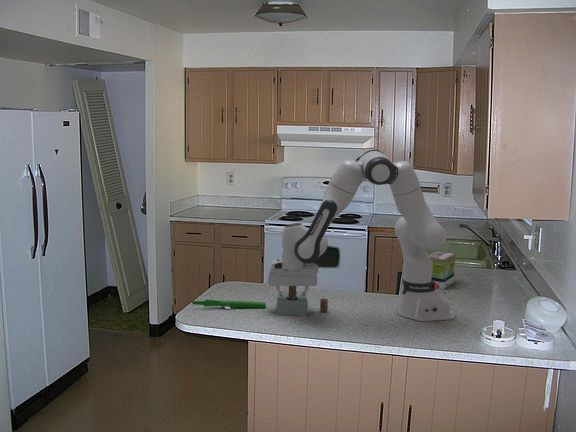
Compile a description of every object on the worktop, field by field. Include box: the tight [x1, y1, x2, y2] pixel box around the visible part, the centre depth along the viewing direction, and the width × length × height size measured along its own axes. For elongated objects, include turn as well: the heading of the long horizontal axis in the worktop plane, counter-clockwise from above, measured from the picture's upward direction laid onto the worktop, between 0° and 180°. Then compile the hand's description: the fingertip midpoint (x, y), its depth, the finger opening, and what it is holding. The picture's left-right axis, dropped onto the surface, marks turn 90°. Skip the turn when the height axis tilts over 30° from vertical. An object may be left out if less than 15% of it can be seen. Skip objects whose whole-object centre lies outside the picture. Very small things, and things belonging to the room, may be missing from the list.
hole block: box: [276, 293, 309, 316], centre depth 247 cm, size 12×12×5 cm
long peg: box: [289, 286, 296, 300], centre depth 247 cm, size 3×3×11 cm
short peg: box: [319, 297, 329, 313], centre depth 247 cm, size 3×3×5 cm
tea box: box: [428, 250, 456, 290], centre depth 288 cm, size 15×10×15 cm, turn 148°
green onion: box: [192, 299, 267, 310], centre depth 249 cm, size 5×3×30 cm
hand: (292, 296), depth 247 cm, fingers open, 8 cm apart
